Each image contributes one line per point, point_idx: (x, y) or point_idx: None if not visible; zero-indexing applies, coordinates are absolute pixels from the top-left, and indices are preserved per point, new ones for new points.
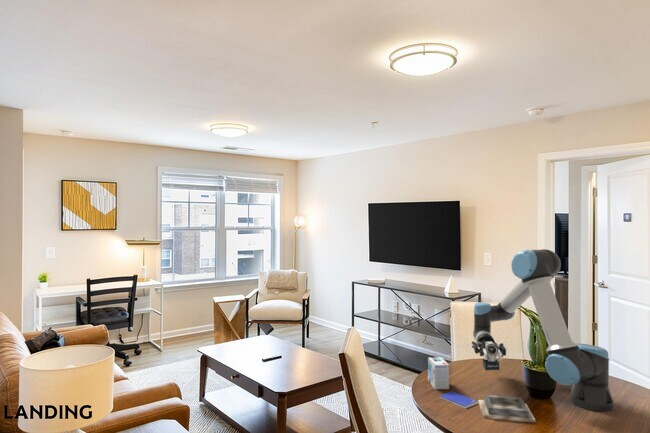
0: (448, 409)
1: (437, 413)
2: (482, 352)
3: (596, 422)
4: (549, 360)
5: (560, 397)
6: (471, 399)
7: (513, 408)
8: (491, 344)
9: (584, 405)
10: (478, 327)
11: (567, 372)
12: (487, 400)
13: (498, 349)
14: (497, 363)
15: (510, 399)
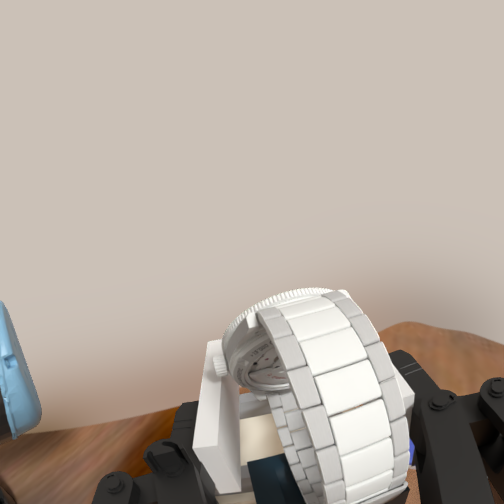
0: (448, 373)
1: (457, 344)
2: (391, 355)
3: (48, 447)
4: (11, 341)
5: None
6: (410, 452)
7: (247, 399)
8: (282, 296)
9: (10, 499)
10: None
11: (19, 345)
12: (337, 414)
13: (216, 357)
14: (262, 465)
15: (243, 467)
